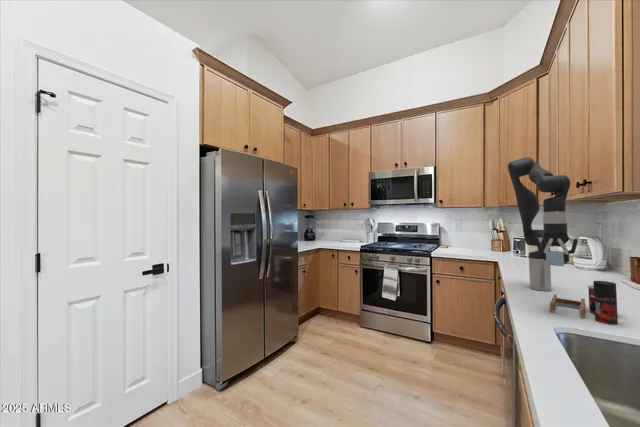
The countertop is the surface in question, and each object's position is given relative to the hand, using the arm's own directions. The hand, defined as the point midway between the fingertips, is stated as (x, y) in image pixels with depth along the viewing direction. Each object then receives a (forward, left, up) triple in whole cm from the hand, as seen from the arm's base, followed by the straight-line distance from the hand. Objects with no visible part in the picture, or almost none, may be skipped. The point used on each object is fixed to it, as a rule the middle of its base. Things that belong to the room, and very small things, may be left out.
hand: (556, 262), depth 111 cm
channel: (-8, +3, -21) cm, 23 cm away
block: (+2, 0, -1) cm, 2 cm away
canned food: (-11, +13, -22) cm, 27 cm away
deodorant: (0, +14, -22) cm, 25 cm away
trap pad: (-14, +3, -21) cm, 26 cm away
